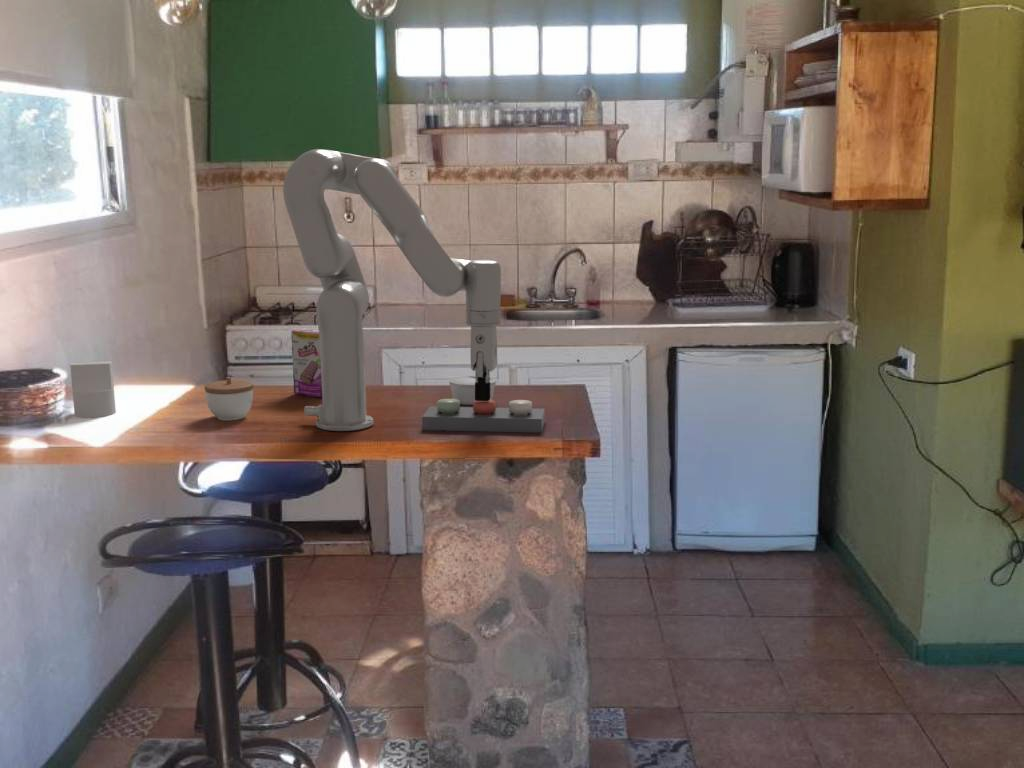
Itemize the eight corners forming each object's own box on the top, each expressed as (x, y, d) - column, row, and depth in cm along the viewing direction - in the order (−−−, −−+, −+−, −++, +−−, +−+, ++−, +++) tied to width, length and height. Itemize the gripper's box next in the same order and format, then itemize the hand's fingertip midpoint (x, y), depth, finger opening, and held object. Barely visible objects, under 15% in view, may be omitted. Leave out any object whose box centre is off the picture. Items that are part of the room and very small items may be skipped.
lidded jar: (200, 423, 240) (198, 382, 238) (214, 412, 251) (211, 372, 249) (248, 423, 240) (246, 382, 238) (259, 412, 251) (257, 372, 249)
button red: (471, 425, 234) (471, 404, 233) (474, 420, 239) (474, 399, 238) (494, 426, 234) (494, 404, 233) (497, 420, 239) (496, 399, 238)
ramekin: (500, 397, 266) (500, 376, 264) (488, 407, 255) (488, 385, 254) (457, 395, 268) (457, 374, 267) (444, 405, 258) (443, 383, 257)
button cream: (508, 426, 234) (508, 404, 233) (510, 421, 238) (510, 399, 237) (530, 427, 233) (530, 405, 232) (532, 421, 238) (532, 400, 237)
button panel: (422, 430, 233) (422, 416, 232) (430, 419, 243) (430, 406, 242) (541, 432, 230) (541, 419, 230) (544, 421, 240) (544, 408, 240)
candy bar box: (292, 394, 269) (289, 330, 266) (306, 391, 273) (303, 327, 270) (327, 399, 264) (324, 333, 260) (340, 395, 268) (338, 331, 264)
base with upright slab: (118, 408, 255) (114, 358, 252) (112, 417, 246) (108, 365, 244) (78, 410, 253) (73, 360, 250) (71, 419, 244) (66, 367, 242)
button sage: (435, 425, 235) (435, 403, 234) (439, 419, 240) (439, 398, 239) (458, 425, 235) (457, 403, 234) (461, 420, 239) (461, 398, 238)
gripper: (496, 323, 224) (495, 408, 228) (504, 313, 239) (503, 393, 242) (460, 322, 225) (460, 407, 229) (470, 312, 239) (470, 392, 243)
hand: (482, 400), depth 235 cm, fingers closed
